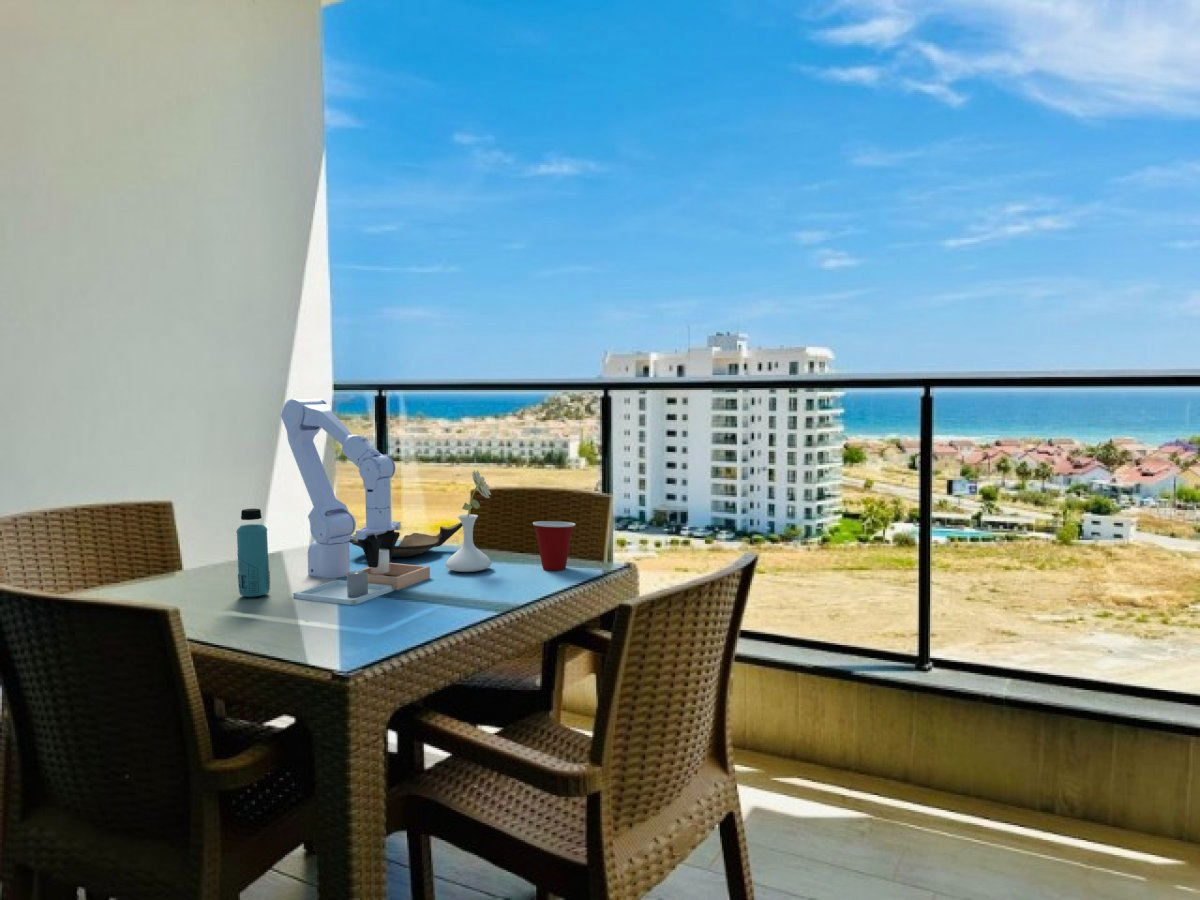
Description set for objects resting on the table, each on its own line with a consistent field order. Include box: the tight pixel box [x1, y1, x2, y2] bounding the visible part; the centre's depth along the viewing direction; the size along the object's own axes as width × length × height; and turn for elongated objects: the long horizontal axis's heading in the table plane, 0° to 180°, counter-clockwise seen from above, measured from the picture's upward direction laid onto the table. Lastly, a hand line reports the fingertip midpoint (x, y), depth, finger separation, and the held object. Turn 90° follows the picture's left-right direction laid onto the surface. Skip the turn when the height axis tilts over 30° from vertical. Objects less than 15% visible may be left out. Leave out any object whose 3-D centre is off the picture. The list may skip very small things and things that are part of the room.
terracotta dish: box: [357, 562, 431, 591], centre depth 207 cm, size 13×13×4 cm
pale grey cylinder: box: [370, 549, 390, 573], centre depth 208 cm, size 4×4×5 cm
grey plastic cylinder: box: [346, 570, 368, 598], centre depth 194 cm, size 4×4×5 cm
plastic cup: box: [532, 520, 577, 572], centre depth 224 cm, size 11×11×12 cm
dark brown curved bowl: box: [349, 521, 463, 558], centre depth 242 cm, size 22×30×8 cm
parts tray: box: [292, 579, 395, 606], centre depth 195 cm, size 16×14×2 cm
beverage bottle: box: [236, 508, 271, 597], centre depth 193 cm, size 6×7×20 cm
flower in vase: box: [445, 469, 492, 573], centre depth 222 cm, size 13×11×25 cm
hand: (379, 564), depth 208 cm, fingers open, 4 cm apart
